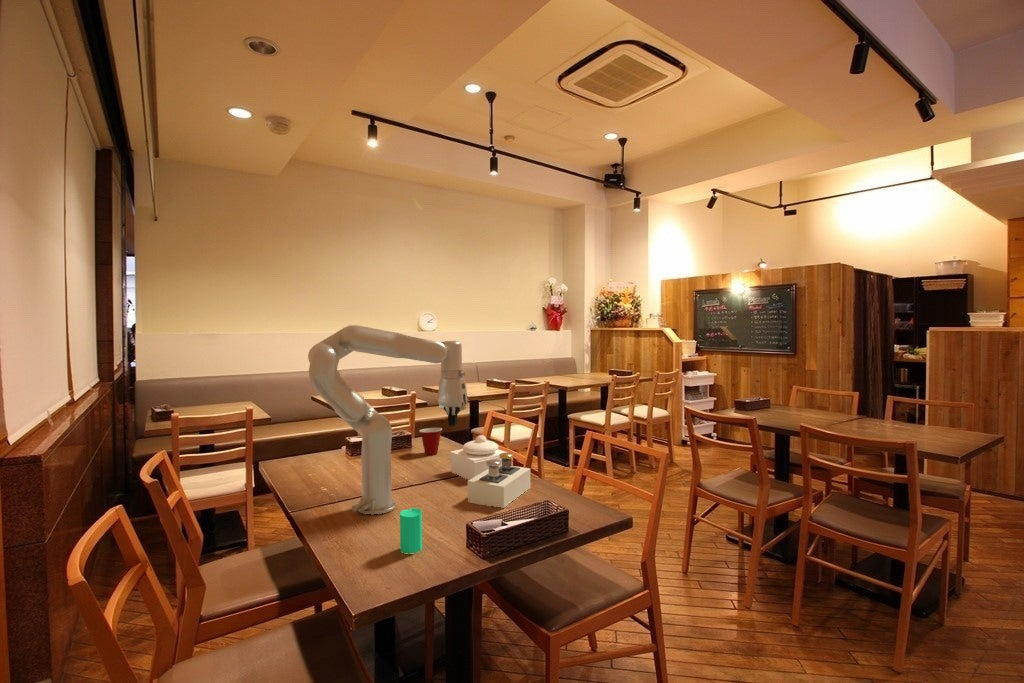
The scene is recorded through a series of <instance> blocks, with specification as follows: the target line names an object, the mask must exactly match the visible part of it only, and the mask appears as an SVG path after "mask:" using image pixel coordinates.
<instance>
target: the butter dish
mask: <svg viewBox="0 0 1024 683" xmlns="http://www.w3.org/2000/svg"><path fill="white" fill-rule="evenodd" d="M501 453H509V452H508V451H504V450H501V449H499V444H498V443H496V442H495V441H491V440H488V439H487V437H486V436H484V435H481V434H480V435H477V437H476V438H475V439H474V440H471V441H467V442H466V443H464V444H463V446H462V448H461V449H457V450H451V451H450V452H449V455H450V456H449V457H450V458H449V459H450V473H451V472H453V473H455V474H457V475H459V476H458V477H460V476H461V477H460V478H462V477H463V478H462V479H464V478H466V479H468V480H470V479H472V478H474V477H475V476H477V475H479V474H481V473H482V472H484V471H486V470H488V469H489V466H487V465H486V461H488V460H500V461H501V464H502V459H501V458H499V454H501ZM453 473H452V474H453ZM455 474H454V475H455ZM457 475H456V476H457ZM466 479H465V480H466ZM468 480H467V481H468Z"/></svg>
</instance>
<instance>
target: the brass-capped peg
mask: <svg viewBox="0 0 1024 683" xmlns="http://www.w3.org/2000/svg"><path fill="white" fill-rule="evenodd" d="M499 458H501V459H502V471H507V472H510V471H511V466H512V459H514V458H515V456H514V453H512V452H508V453H501V454H499Z"/></svg>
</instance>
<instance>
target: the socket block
mask: <svg viewBox="0 0 1024 683" xmlns="http://www.w3.org/2000/svg"><path fill="white" fill-rule="evenodd" d="M531 488H532V487H531V468H529V467H522V466H516V465H515V466H514V465H511V471H510V472H507V471H502V464H501V465H500V466H499V479H497V480H493V479H489V469H488V470H486V471H484V472H482V473H481V474H479V475H477V476H475V477H474V478H472V479H470V480H467V503H469V504H476V505H481V506H485V505H486V506H487V507H491V506H494V507H493V508H496V507H501V508H500V509H502V508H504V507H506V506H507V505H508V504H509V503H511V502H512V501H513V500H515V499H516V498H517V497H519V496H520V495H521V494H523V493H524V492H525V491H526V492H528V491H529V490H530V489H531ZM528 489H529V490H528ZM527 490H528V491H527ZM526 492H525V493H526ZM525 493H524V494H525ZM524 494H523V495H524ZM521 496H522V495H521ZM521 496H520V497H521ZM520 497H519V498H520ZM517 499H518V498H517ZM517 499H516V500H517ZM516 500H515V501H516ZM512 503H513V502H512ZM512 503H511V504H512ZM508 506H509V505H508ZM508 506H507V507H508ZM507 507H506V508H507Z"/></svg>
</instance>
